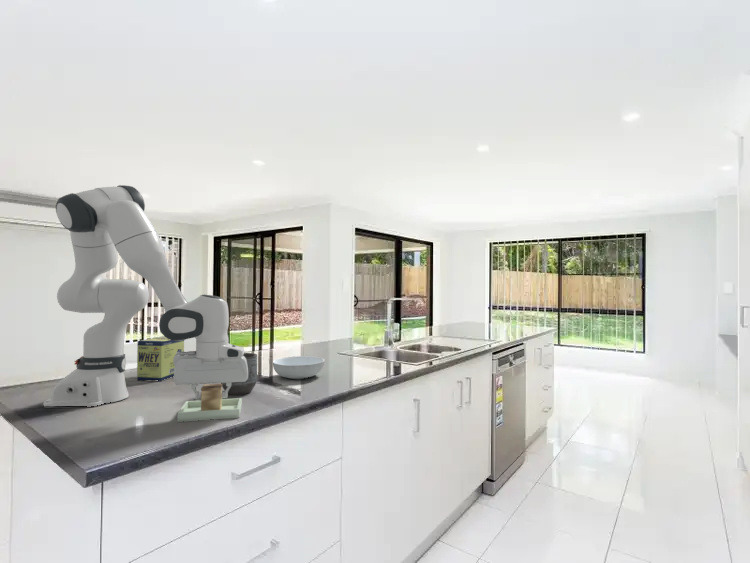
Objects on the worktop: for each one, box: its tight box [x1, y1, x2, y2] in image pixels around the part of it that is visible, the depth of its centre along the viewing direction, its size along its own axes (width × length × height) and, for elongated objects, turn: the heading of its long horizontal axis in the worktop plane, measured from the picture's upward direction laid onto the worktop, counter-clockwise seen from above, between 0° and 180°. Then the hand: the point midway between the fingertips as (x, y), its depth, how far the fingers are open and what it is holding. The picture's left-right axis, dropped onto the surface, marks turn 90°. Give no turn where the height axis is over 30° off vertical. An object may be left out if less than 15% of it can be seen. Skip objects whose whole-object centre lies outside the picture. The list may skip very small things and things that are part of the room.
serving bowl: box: [272, 355, 326, 380], centre depth 171 cm, size 21×21×7 cm
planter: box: [220, 352, 258, 396], centre depth 146 cm, size 12×12×13 cm
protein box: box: [136, 335, 185, 382], centre depth 169 cm, size 10×16×16 cm
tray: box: [177, 397, 243, 423], centre depth 121 cm, size 16×12×2 cm
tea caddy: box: [200, 383, 223, 411], centre depth 121 cm, size 5×5×7 cm
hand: (211, 398), depth 121 cm, fingers open, 6 cm apart
